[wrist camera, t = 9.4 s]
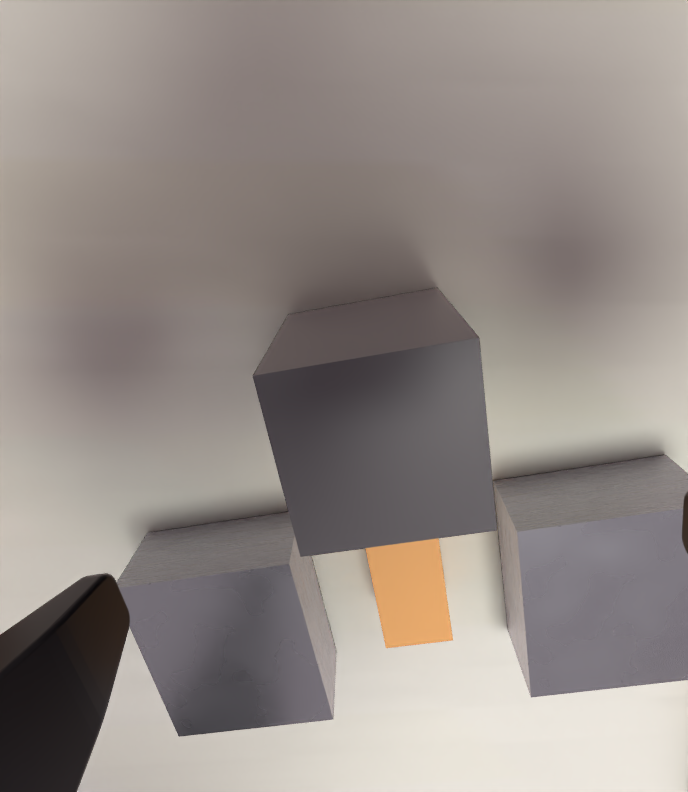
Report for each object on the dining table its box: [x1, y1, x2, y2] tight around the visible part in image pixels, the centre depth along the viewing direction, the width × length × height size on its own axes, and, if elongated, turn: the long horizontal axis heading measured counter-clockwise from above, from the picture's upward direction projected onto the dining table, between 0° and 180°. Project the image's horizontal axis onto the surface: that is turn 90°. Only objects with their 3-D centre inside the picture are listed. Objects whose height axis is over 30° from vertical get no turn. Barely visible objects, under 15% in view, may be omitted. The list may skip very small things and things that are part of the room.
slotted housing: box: [117, 455, 688, 736], centre depth 16 cm, size 6×16×2 cm, turn 101°
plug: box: [253, 288, 497, 648], centre depth 13 cm, size 10×4×5 cm, turn 11°
